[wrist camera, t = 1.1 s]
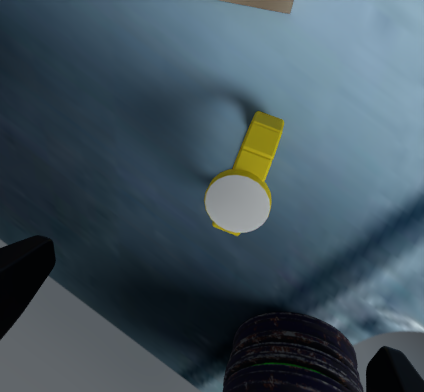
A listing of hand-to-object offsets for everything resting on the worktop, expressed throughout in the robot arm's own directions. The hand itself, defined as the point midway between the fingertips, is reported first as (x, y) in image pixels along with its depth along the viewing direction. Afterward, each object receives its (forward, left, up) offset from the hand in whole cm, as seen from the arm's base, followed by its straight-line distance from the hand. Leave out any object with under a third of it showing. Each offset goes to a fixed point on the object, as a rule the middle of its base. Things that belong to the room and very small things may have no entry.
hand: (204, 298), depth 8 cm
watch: (0, 0, -11) cm, 11 cm away
